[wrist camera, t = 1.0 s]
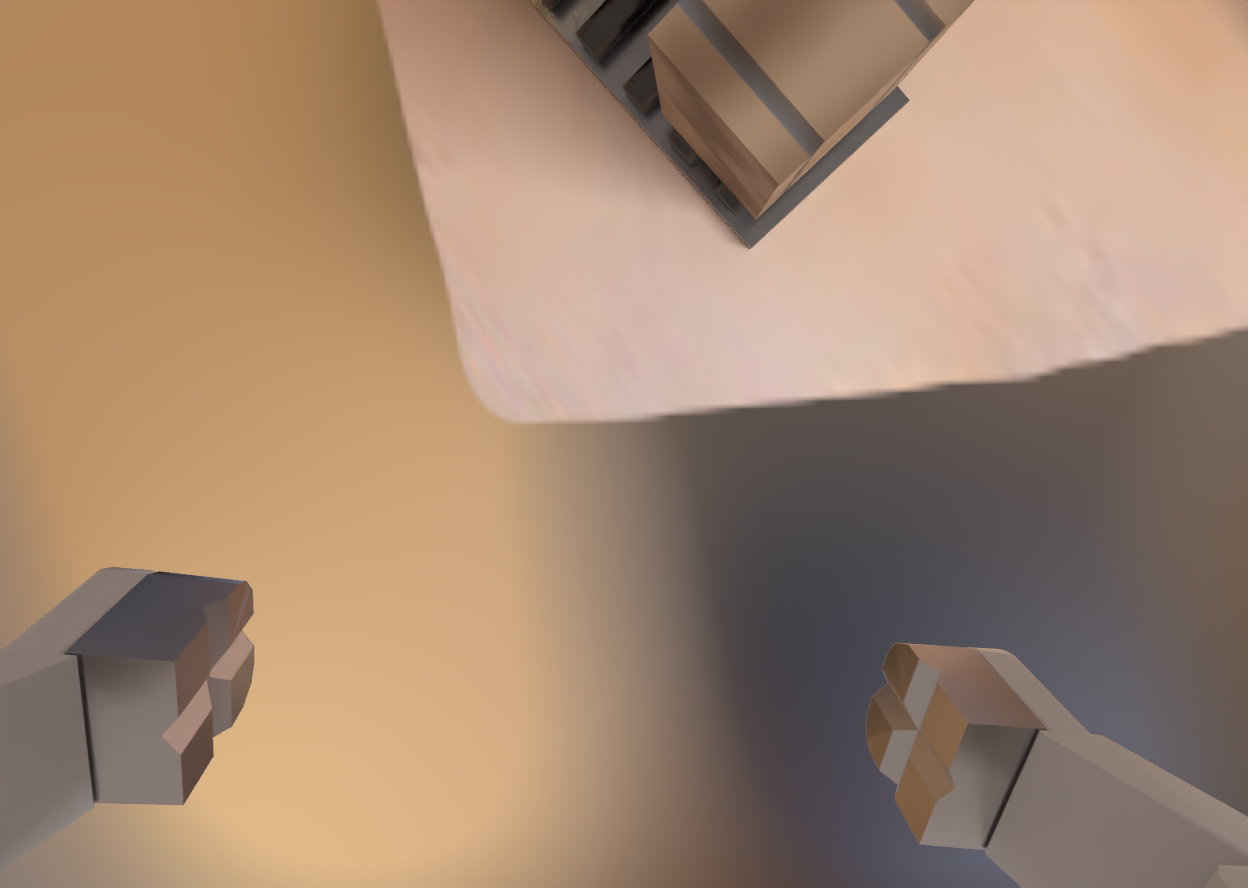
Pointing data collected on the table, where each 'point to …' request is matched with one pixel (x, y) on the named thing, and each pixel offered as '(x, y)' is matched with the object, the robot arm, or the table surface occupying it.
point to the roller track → (621, 59)
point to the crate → (783, 78)
